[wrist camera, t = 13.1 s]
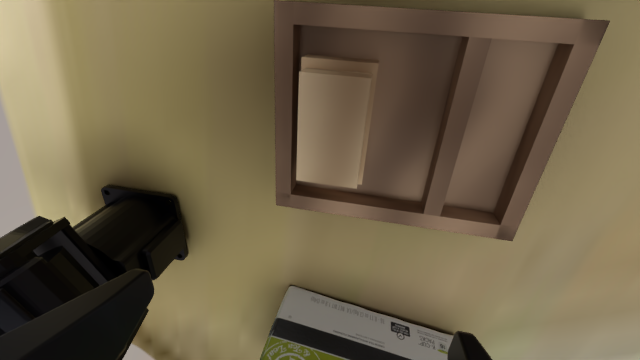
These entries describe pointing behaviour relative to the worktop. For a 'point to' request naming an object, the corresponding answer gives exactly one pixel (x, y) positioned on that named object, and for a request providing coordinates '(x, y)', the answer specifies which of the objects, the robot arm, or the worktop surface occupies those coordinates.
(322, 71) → the offcut upper
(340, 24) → the tray
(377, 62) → the offcut lower
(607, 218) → the worktop surface
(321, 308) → the tea box
